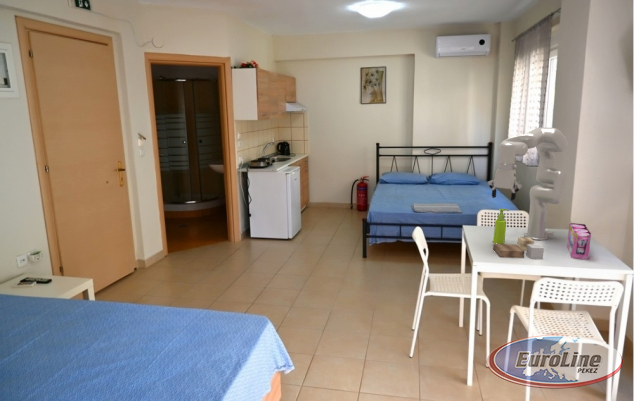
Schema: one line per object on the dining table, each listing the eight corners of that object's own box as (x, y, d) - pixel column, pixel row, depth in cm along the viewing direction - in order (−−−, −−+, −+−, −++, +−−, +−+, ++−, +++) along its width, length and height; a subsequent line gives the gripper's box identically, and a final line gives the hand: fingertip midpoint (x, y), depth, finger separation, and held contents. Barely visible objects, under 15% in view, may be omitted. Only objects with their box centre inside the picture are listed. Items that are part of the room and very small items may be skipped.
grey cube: (537, 255, 231) (539, 244, 230) (542, 259, 225) (544, 248, 224) (526, 255, 232) (527, 244, 231) (530, 259, 226) (531, 247, 225)
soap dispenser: (507, 244, 250) (511, 210, 246) (495, 244, 250) (498, 210, 246) (504, 241, 255) (507, 207, 251) (491, 241, 256) (494, 207, 252)
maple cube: (528, 247, 244) (529, 237, 243) (532, 251, 238) (533, 240, 237) (517, 247, 244) (518, 237, 243) (521, 251, 239) (522, 240, 237)
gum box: (588, 260, 223) (592, 235, 221) (571, 258, 227) (574, 233, 224) (582, 247, 245) (585, 224, 242) (566, 245, 248) (569, 222, 245)
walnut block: (515, 251, 239) (516, 244, 238) (523, 258, 227) (524, 251, 226) (492, 250, 240) (493, 243, 239) (499, 258, 228) (500, 250, 227)
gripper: (525, 167, 226) (522, 200, 230) (492, 164, 237) (489, 195, 241) (520, 169, 221) (517, 202, 224) (486, 165, 232) (484, 197, 236)
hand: (503, 198), depth 233 cm, fingers open, 9 cm apart
